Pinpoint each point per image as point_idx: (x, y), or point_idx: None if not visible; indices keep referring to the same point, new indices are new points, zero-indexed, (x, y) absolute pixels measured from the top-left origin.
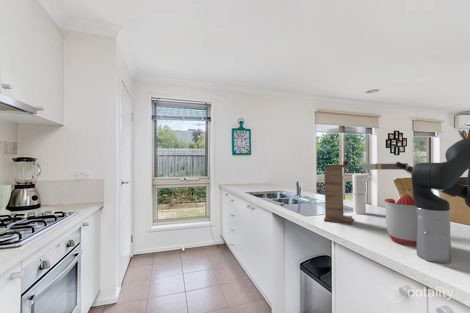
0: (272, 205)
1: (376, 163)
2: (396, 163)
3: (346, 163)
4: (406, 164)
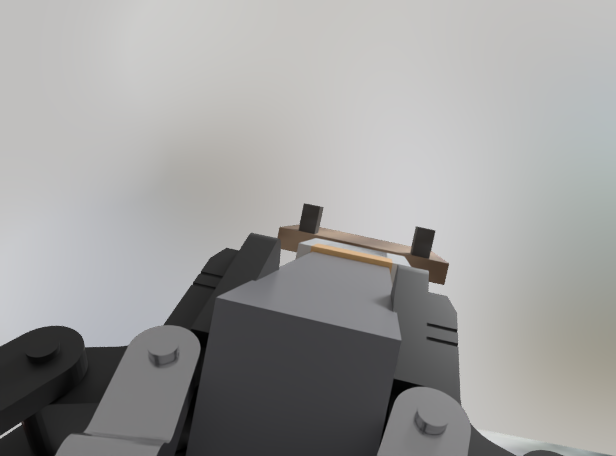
0: (484, 436)
1: (343, 249)
2: (382, 293)
3: (301, 220)
4: (222, 321)
